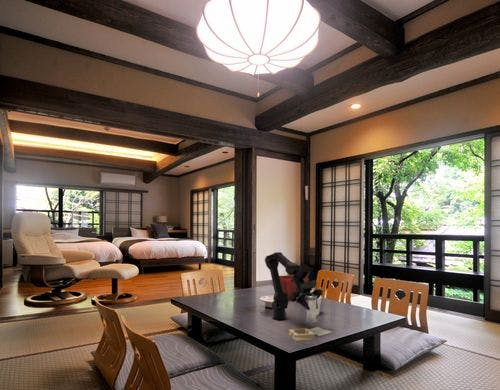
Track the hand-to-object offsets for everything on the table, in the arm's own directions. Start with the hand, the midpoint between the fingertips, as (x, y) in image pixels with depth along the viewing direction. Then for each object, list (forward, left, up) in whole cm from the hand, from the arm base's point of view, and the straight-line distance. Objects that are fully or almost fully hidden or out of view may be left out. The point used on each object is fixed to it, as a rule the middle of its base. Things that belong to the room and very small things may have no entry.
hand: (313, 309), depth 168 cm
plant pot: (-50, +65, -14) cm, 83 cm away
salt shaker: (-1, +1, -6) cm, 7 cm away
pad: (0, +7, -13) cm, 15 cm away
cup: (-18, +37, -14) cm, 43 cm away
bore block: (-3, -6, -13) cm, 15 cm away
